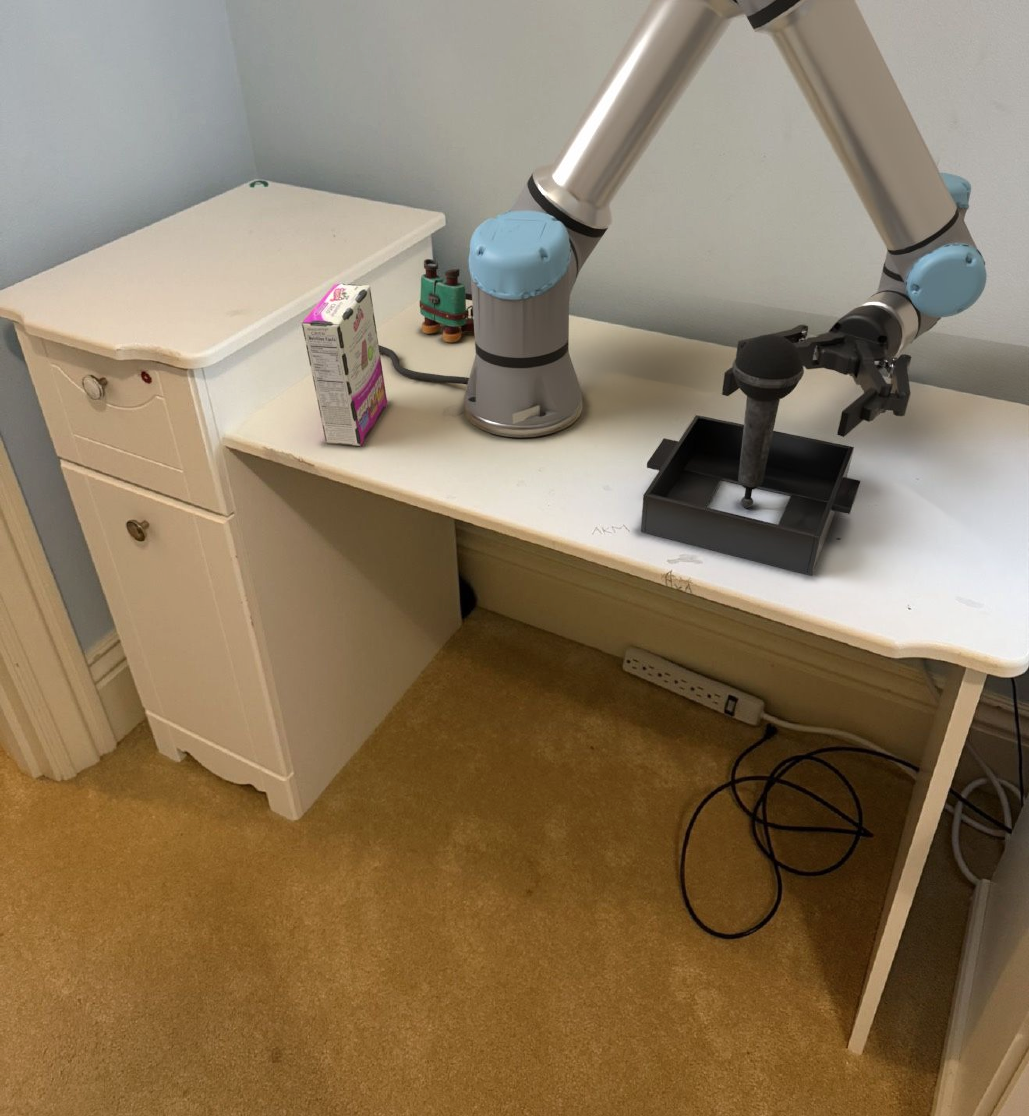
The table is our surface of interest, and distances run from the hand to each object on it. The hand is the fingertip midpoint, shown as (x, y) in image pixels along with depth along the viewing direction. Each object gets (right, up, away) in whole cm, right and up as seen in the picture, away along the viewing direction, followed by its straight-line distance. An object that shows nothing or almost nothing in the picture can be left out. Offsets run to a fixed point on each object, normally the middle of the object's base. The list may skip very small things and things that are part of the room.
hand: (782, 403), depth 96 cm
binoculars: (-37, +18, +43) cm, 59 cm away
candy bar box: (-48, +1, +21) cm, 53 cm away
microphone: (-3, -11, +4) cm, 12 cm away
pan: (-3, -11, +4) cm, 12 cm away
